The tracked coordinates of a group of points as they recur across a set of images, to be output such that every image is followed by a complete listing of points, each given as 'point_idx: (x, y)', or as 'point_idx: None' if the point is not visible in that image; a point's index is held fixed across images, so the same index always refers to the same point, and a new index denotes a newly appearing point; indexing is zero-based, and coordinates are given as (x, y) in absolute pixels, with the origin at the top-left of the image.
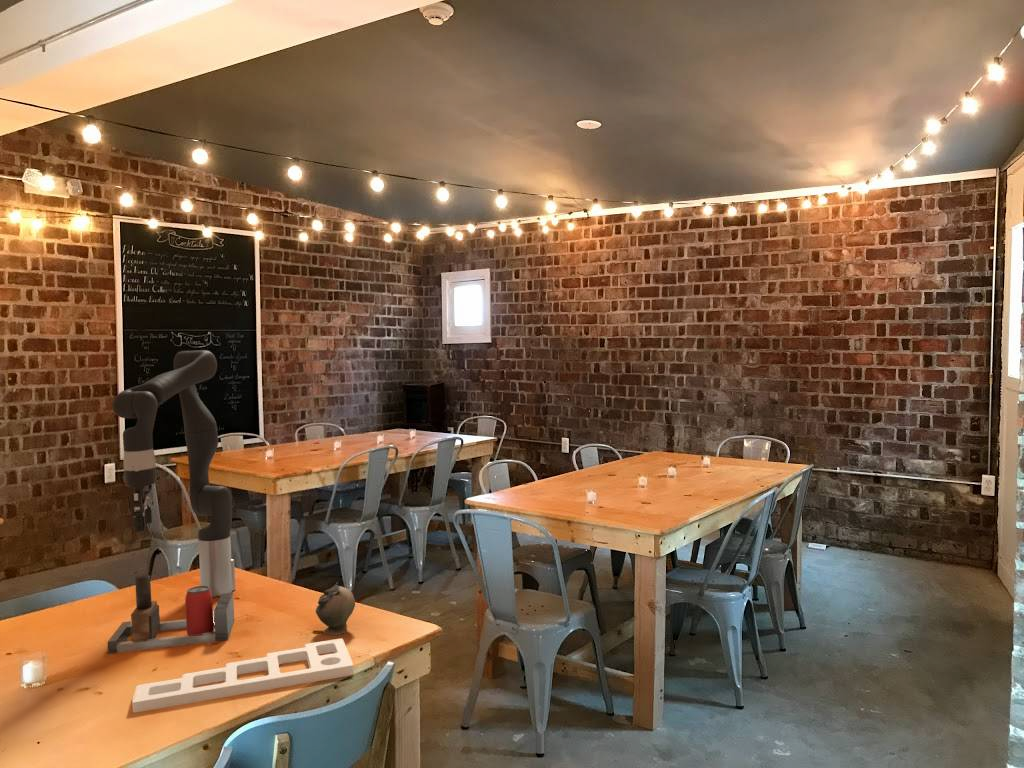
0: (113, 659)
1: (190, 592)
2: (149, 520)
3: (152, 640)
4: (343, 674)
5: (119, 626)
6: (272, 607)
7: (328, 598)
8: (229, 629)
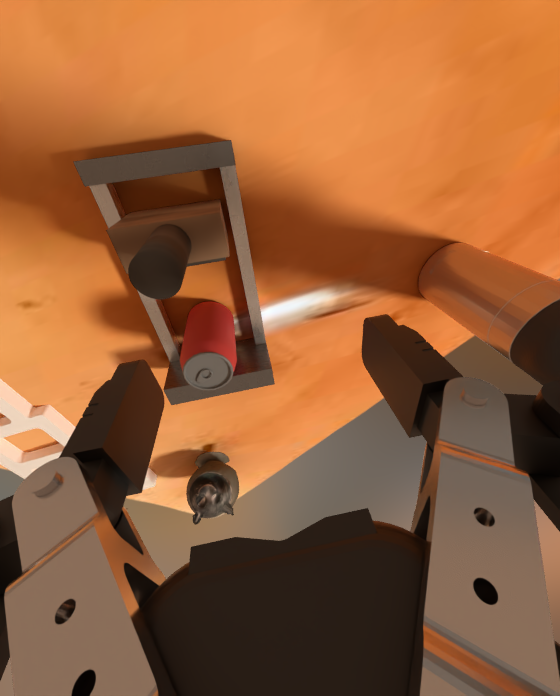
0: (54, 192)
1: (183, 366)
2: (371, 362)
3: None
4: None
5: (195, 145)
6: (320, 380)
7: (193, 504)
8: None
